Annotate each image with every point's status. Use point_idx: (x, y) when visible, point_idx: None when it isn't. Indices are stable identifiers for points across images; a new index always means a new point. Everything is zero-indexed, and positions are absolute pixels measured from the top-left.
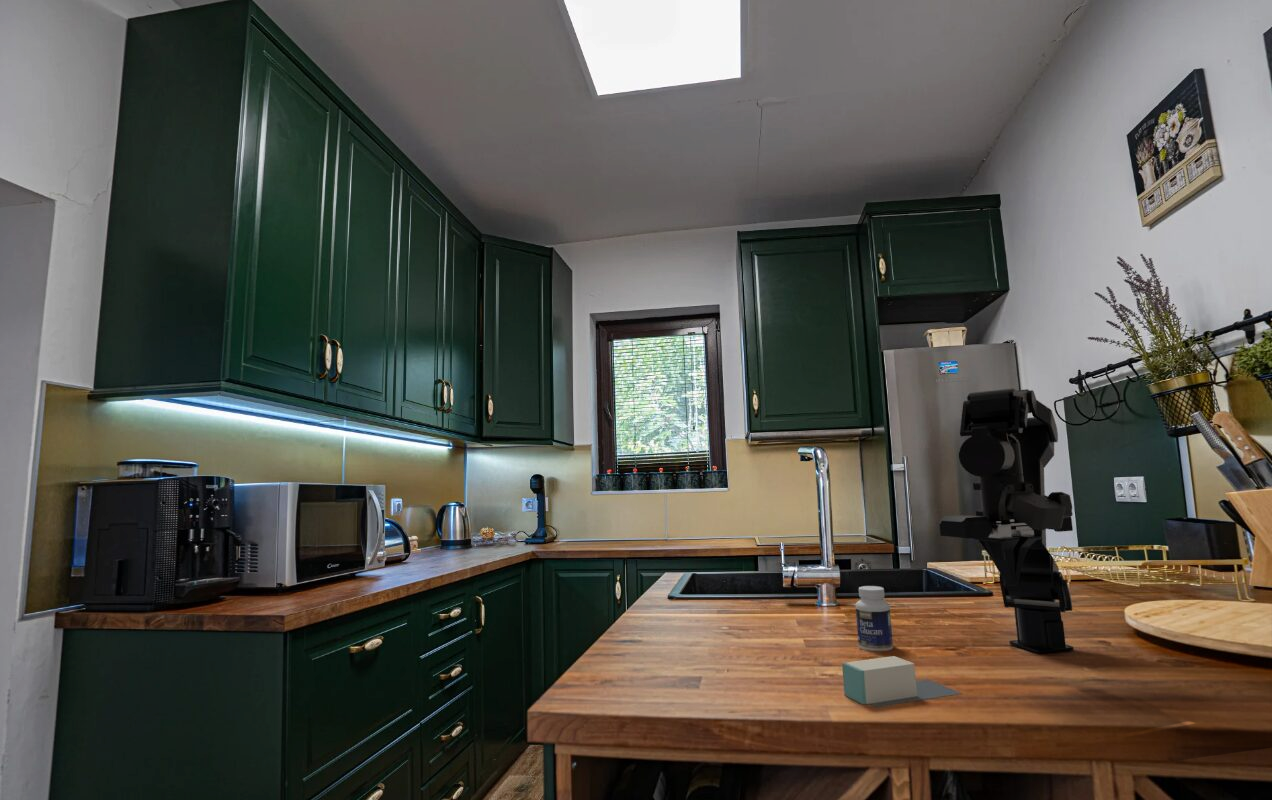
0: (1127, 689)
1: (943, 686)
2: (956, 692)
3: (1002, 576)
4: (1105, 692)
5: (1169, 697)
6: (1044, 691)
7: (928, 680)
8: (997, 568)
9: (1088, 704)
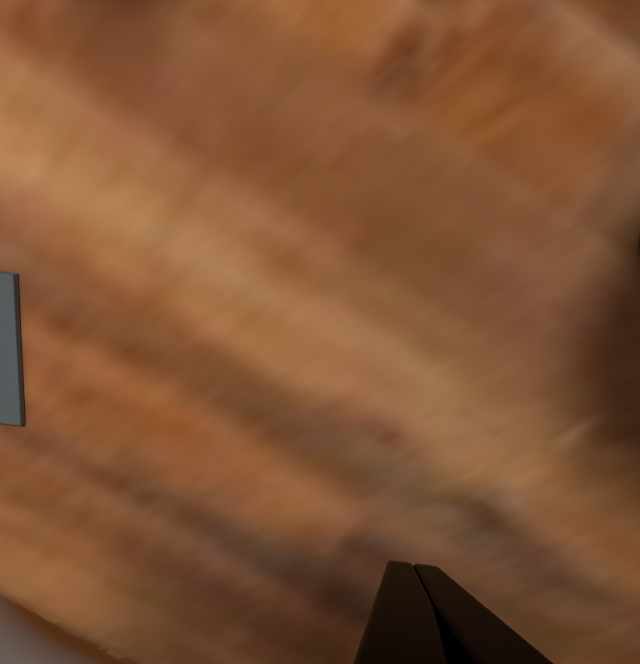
0: None
1: (10, 357)
2: (8, 412)
3: (376, 595)
4: None
5: None
6: (256, 501)
7: (8, 288)
8: (365, 634)
9: (259, 603)
